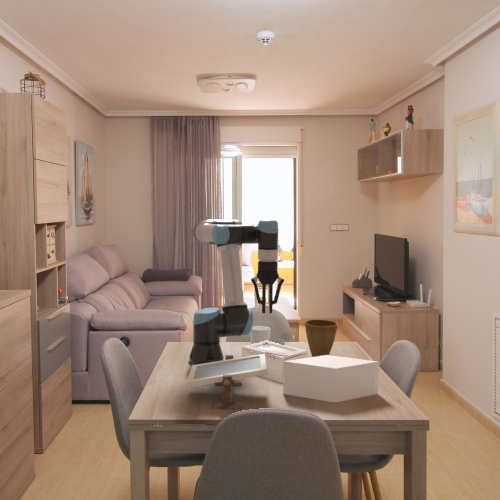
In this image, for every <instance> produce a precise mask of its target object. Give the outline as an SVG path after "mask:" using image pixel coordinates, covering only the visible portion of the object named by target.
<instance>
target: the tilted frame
mask: <svg viewBox="0 0 500 500" xmlns="http://www.w3.org/2000/svg"><path fill="white" fill-rule="evenodd" d="M266 358H267V357H266V355H265V353H264V354H258V355H254V354H252V355H246V356H241V357H235V358H234V357H233V359H228V360H225V359H223V360H222V361H216V362H209V363H203V364H197V365H194V364H192V366H191V368H190V370H189V374H188V377H187V380H186V386H187V388H192V387H198V386H204V385H210V384H216V383H217V382H223V375H232V380H242V379H247V378H253V377H258V376H264V375H268V374H269V373H268V367H267V366H268V365H267V360H266Z"/></svg>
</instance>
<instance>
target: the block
mask: <svg viewBox="0 0 500 500" xmlns="http://www.w3.org/2000/svg"><path fill="white" fill-rule="evenodd" d="M282 373H283V377H282V378H283V380H282V381H283V382H282V386H283V387H282V394H283V395H288V396H292V397H299V398H305V399H312V400H318V401H324V402H330V403H340V402H344V401H349V400H355V399H359V398H365V397H370V396H374V395H378V391H379V389H378V388H379V361H376V360H369V359H362V358H354V357H348V356H347V357H345V356H338V355H330V354H329V355H323V356H316V357H312V356H311V357H304V358H303V357H302V358H296V359H289V360H283V372H282Z"/></svg>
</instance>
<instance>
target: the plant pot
mask: <svg viewBox="0 0 500 500" xmlns="http://www.w3.org/2000/svg"><path fill="white" fill-rule="evenodd" d="M338 324H339V323H337V322H335V321H333V320H328V319H307V320H306V321H304V326H305V334H306V339H307V344H308V348H309V351H310V355H311V357H316V356H323V355H330V353H331V351H332V347H333V346H334V342H335V339H336V334H337V330H338Z"/></svg>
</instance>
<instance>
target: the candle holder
mask: <svg viewBox="0 0 500 500" xmlns="http://www.w3.org/2000/svg"><path fill="white" fill-rule="evenodd" d="M271 330H272V329H271V327H270V326H267V325H266V326H265V325H253V326H252V329H251V331H250V333H249V335H250V337H249V338H250V345H251V344H253V343H259V342H261V341H264V340H268V339H271Z"/></svg>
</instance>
